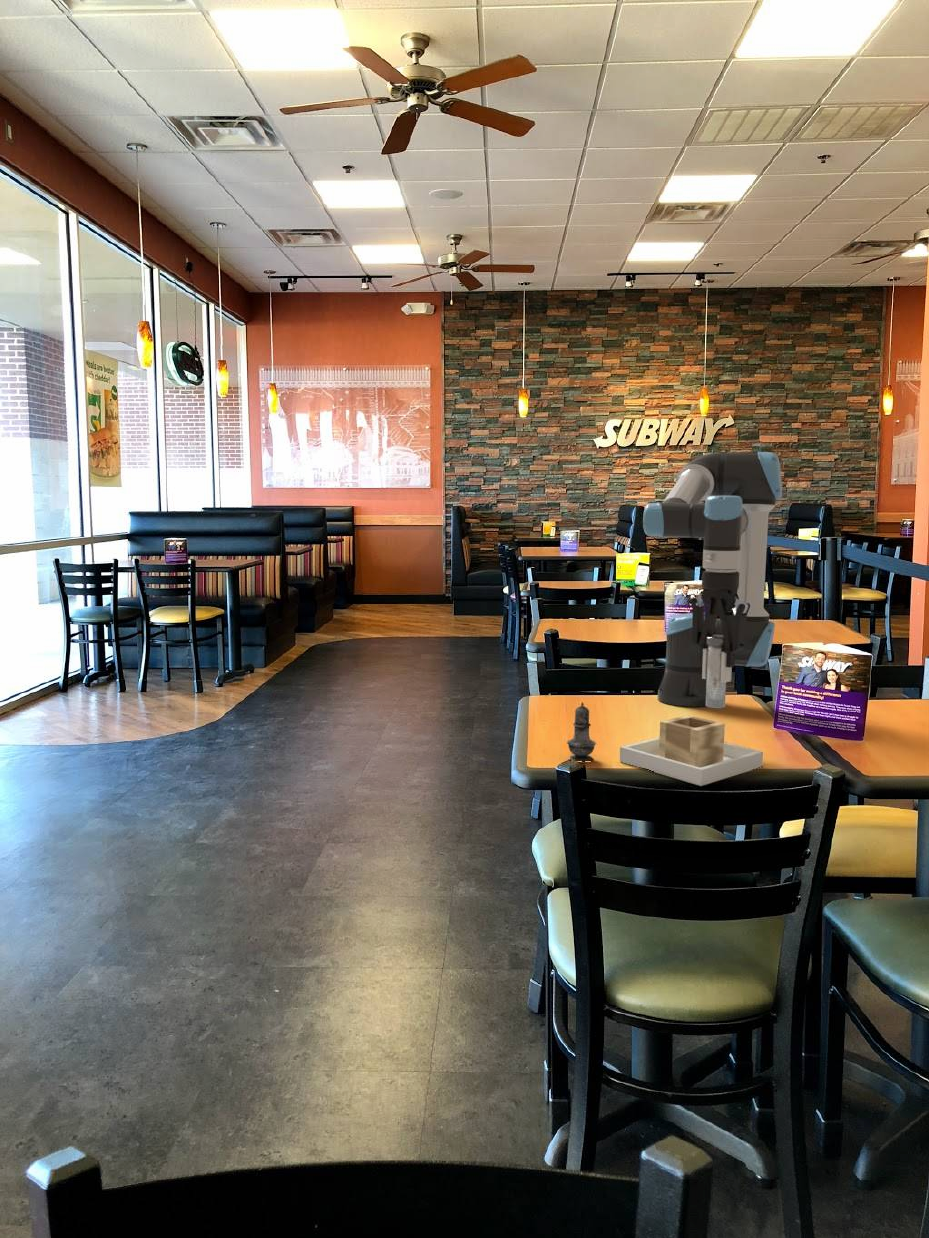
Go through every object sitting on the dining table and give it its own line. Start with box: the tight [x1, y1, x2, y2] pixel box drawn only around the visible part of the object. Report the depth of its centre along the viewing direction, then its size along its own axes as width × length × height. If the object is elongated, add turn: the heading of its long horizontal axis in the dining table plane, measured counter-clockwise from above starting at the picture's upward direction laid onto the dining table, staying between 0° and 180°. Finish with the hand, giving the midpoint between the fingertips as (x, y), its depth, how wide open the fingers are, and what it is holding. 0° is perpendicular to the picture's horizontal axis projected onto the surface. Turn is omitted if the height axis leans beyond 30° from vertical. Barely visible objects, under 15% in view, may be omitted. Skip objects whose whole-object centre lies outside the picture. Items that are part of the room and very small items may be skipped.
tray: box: [619, 736, 764, 787], centre depth 188 cm, size 20×20×3 cm
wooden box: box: [659, 714, 726, 768], centre depth 187 cm, size 9×9×8 cm
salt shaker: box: [566, 702, 597, 762], centre depth 190 cm, size 6×6×12 cm
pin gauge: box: [705, 635, 727, 709], centre depth 197 cm, size 5×5×15 cm
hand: (716, 679), depth 198 cm, fingers closed on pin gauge, 4 cm apart
